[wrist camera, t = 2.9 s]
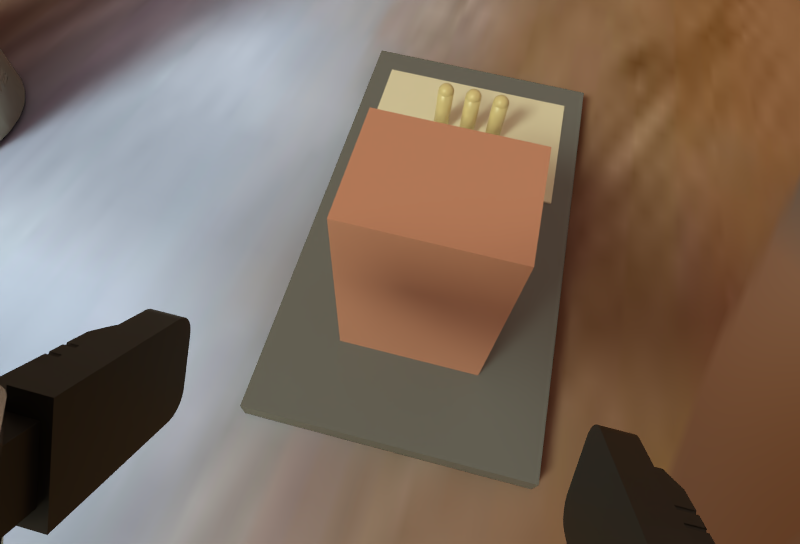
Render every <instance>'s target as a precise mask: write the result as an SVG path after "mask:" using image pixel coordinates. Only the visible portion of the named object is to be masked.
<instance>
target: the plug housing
mask: <svg viewBox="0 0 800 544" xmlns="http://www.w3.org/2000/svg"><path fill="white" fill-rule="evenodd" d="M550 154H551V147H549V146H544V145H540V144H535V143H531V142H526V141H521V140H517V139H512V138H508V137H503V136H499V135H494V134H489V133H485V132H480V131H476V130H471V129H467V128H462V127H457V126H453V125H448V124H444V123H439V122H435V121H430V120H425V119H421V118H416V117H412V116H407V115H403V114H398V113H393V112H389V111H384V110H380V109H375V108H369V111H368V113H367V116H366V118H365V121H364V124H363V126H362V129H361V131H360V134H359V137H358V139H357V142H356V144H355V147H354V150H353V152H352V155H351V157H350V160H349V162H348V165H347V168H346V170H345V173H344V175H343V178H342V181H341V183H340V186H339V188H338V191H337V194H336V196H335V199H334V201H333V204H332V207H331V209H330V212H329V214H328V217H327V224H328V233H329V243H330V252H331V261H332V271H333V280H334V289H335V298H336V308H337V317H338V326H339V335H340V341H343V342H347V343H351V344H355V345H359V346H363V347H367V348H371V349H375V350H379V351H383V352H387V353H391V354H395V355H399V356H403V357H407V358H411V359H415V360H419V361H423V362H427V363H431V364H434V365H438V366H442V367H446V368H450V369H454V370H458V371H462V372H466V373H470V374H474V375H479V373H480V371H481V369H482V367H483V365H484V363H485V361H486V359H487V357H488V355H489V353H490V351H491V350H492V348H493V346H494V344H495V342H496V340H497V338H498V336H499V334H500V332H501V330H502V328H503V326H504V324H505V322H506V320H507V319H508V317H509V315H510V313H511V311H512V309H513V307H514V305H515V303H516V301H517V299H518V297H519V295H520V293H521V291H522V289H523V288H524V286H525V284H526V282H527V280H528V278H529V276H530V274H531V272H532V270H533V268H534V264H535V257H536V250H537V243H538V236H539V229H540V223H541V216H542V209H543V202H544V195H545V188H546V182H547V175H548V168H549V161H550Z"/></svg>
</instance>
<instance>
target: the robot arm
mask: <svg viewBox="0 0 800 544" xmlns="http://www.w3.org/2000/svg"><path fill="white" fill-rule="evenodd" d="M24 104H25V89H24V86H23V83H22V80H21V79H20V77H19V76H18V74H17V73H16V71H15V70H14V68H13V67H12V65H11V64H10V62H9V61H8V59H7V58H6V56H5V55H4V53H3V52H2V50H1V49H0V141H1V140H2V139H3V138H4V137H5V136H6V135H7V134H8V133H9V132H10V131H11V129H12V128H13V126H14V125H15V123H16V122H17V120H18V119H19V117H20V115H21V112H22V110H23V107H24ZM189 339H190V323H189V320H188V319H187V318H184V317H180V316H176V315H173V314H169V313H165V312H161V311H157V310H153V309H147V310H145V311H143V312H141V313H139V314H137V315H136V316H134V317H132V318H130V319H128V320H126V321H124V322H123V323H121V324H119V325H114V326H110V327H105V328H101V329H97V330H93V331H89V332H86V333H84V334H82V335H81V336H79V337H77V338H75V339H73V340H71V341H69V342H67V344H66V345H61V346H59V347H57V348H55V349H53V350H51V351H49V354H43V355H41V356H40V357H38V358H36V359H34V360H32V361H30V362H28V363H26V364H24V365H22V366H20V367H18V368H16V369H14V370H12V371H10V372H8V373H6V374H4V375H2V376H0V544H3V536H4V535H5V534H7V533H8V532H9V531H10V530H11V529H12V528H14V527H15V526H19V527H23V528H26V529H30V530H33V531H36V532H40V533H43V534H46V535H48V534H49V533H50V532H51V531H52V530H53V529H54V528H55V527H56V526H57V525H58V524H59V523H60V522H62V521H63V520H64V519H65V518H66V517H67V516H68V515H69V514H70V513H71V512H72V511H73V510H74V509H75V508H76V507H78V506H79V505H80V504H81V503H82V502H83V501H84V500H85V499H86V498H87V497H88V496H89V495H90V494H91V493H93V492H94V491H95V490H96V489H97V488H98V487H99V486H100V485H101V484H102V483H103V482H104V481H105V480H106V479H108V478H109V477H110V476H111V475H112V474H113V473H114V472H115V471H116V470H117V469H118V468H119V467H120V466H121V465H123V464H124V463H125V462H126V461H127V460H128V459H129V458H130V457H131V456H132V455H133V454H134V453H135V452H136V451H137V450H139V449H140V448H141V447H142V446H143V445H144V444H145V443H146V442H147V441H148V440H149V439H150V438H151V437H152V436H154V435H155V434H156V433H157V432H158V431H159V430H160V429H161V428H162V427H163V426H164V425H165V424H166V423H167V422H168V421H169V420H170V419H171V418H172V417H173V415H174V414H175V412H176V410H177V408H178V406H179V404H180V401H181V398H182V395H183V390H184V382H185V373H186V365H187V356H188V348H189ZM563 525H564V532H565V537H566V542H567V544H715V543H714V541H713V539H712V537H711V536H710V534H709V533H706V530H707V529H706V527H705V525H704V523H703V522H702V520H701V518H700V516H699V515H696V509H695V508H694V506H693V504H692V503H691V501H690V499H689V497H688V496H687V494H686V492H685V491H684V489H683V488H682V487H681V486H680V485H679V484H678V483H677V482H676V481H674V480H673V479H672V478H671V477H670V476H669V475H668V474H667V473H666V472H665V471H664V470H663V469H661V468H657V467H654V466H653V464H652V462H651V460H650V458H649V456H648V454H647V452H646V450H645V448H644V446H643V445H642V443H641V441H640V439H639V437H638V436H637V435H635V434H631V433H627V432H623V431H619V430H615V429H612V428H608V427H604V426H600V425H594V426H593V427H592V428H591V429H590V431H589V433H588V435H587V438H586V441H585V444H584V447H583V450H582V453H581V456H580V458H579V461H578V464H577V467H576V470H575V473H574V476H573V479H572V482H571V485H570V488H569V490H568V493H567V497H566V501H565V507H564V516H563Z"/></svg>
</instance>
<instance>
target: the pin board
mask: <svg viewBox="0 0 800 544" xmlns="http://www.w3.org/2000/svg"><path fill="white" fill-rule="evenodd" d="M583 95H584V93H581V92H576V91H572V90H567V89H562V88H557V87H553V86H548V85H543V84H538V83H534V82H529V81H524V80H519V79H515V78H510V77H505V76H500V75H496V74H491V73H486V72H481V71H477V70H472V69H467V68H462V67H457V66H453V65H448V64H443V63H438V62H434V61H429V60H424V59H419V58H415V57H410V56H405V55H400V54H396V53H391V52H386V51H382V52H381V54H380V57H379V59H378V62H377V64H376V67H375V69H374V72H373V74H372V77H371V79H370V82H369V84H368V87H367V89H366V92H365V94H364V97H363V99H362V102H361V104H360V107H359V109H358V112H357V114H356V117H355V119H354V122H353V124H352V127H351V129H350V132H349V134H348V137H347V139H346V142H345V144H344V147H343V149H342V152H341V154H340V157H339V159H338V162H337V164H336V167H335V169H334V172H333V174H332V177H331V180H330V182H329V185H328V187H327V190H326V192H325V195H324V197H323V200H322V202H321V205H320V207H319V210H318V212H317V215H316V217H315V220H314V222H313V225H312V227H311V230H310V232H309V235H308V237H307V240H306V242H305V245H304V247H303V250H302V252H301V255H300V257H299V260H298V262H297V265H296V267H295V270H294V272H293V275H292V277H291V280H290V282H289V285H288V287H287V290H286V292H285V295H284V297H283V300H282V302H281V305H280V307H279V310H278V312H277V315H276V317H275V320H274V323H273V325H272V328H271V330H270V333H269V335H268V338H267V340H266V343H265V345H264V348H263V350H262V353H261V355H260V358H259V360H258V363H257V365H256V368H255V370H254V373H253V375H252V378H251V380H250V383H249V385H248V388H247V390H246V393H245V395H244V398H243V400H242V403H241V405H240V406H241V408H242V409H243V411H244V412H245V413H248V414H251V415H255V416H259V417H263V418H266V419H270V420H274V421H278V422H281V423H285V424H289V425H293V426H296V427H300V428H304V429H308V430H311V431H315V432H319V433H323V434H326V435H330V436H334V437H338V438H341V439H345V440H349V441H353V442H356V443H360V444H364V445H368V446H371V447H375V448H379V449H383V450H387V451H390V452H394V453H398V454H402V455H405V456H409V457H413V458H417V459H420V460H424V461H428V462H432V463H435V464H439V465H443V466H447V467H450V468H454V469H458V470H462V471H465V472H469V473H473V474H477V475H480V476H484V477H488V478H492V479H495V480H499V481H503V482H507V483H510V484H514V485H518V486H522V487H526V488H529V489H533V488H535V487H536V486H538V485H539V477H540V469H541V460H542V451H543V442H544V434H545V425H546V416H547V408H548V399H549V390H550V382H551V373H552V364H553V355H554V347H555V338H556V329H557V321H558V312H559V303H560V295H561V286H562V277H563V269H564V260H565V251H566V242H567V234H568V225H569V216H570V208H571V199H572V190H573V182H574V173H575V164H576V156H577V147H578V138H579V129H580V121H581V112H582V103H583ZM369 108H375V109H380V110H384V111H389V112H393V113H398V114H403V115H407V116H412V117H416V118H421V119H425V120H430V121H435V122H439V123H444V124H448V125H453V126H457V127H462V128H467V129H471V130H476V131H480V132H485V133H489V134H494V135H499V136H503V137H508V138H512V139H517V140H521V141H526V142H531V143H535V144H540V145H544V146H549V147H551V154H550V161H549V168H548V175H547V182H546V188H545V195H544V202H543V209H542V216H541V223H540V229H539V236H538V243H537V250H536V257H535V264H534V268H533V270H532V272H531V274H530V276H529V278H528V280H527V282H526V284H525V286H524V288H523V289H522V291H521V293H520V295H519V297H518V299H517V301H516V303H515V305H514V307H513V309H512V311H511V313H510V315H509V317H508V319H507V320H506V322H505V324H504V326H503V328H502V330H501V332H500V334H499V336H498V338H497V340H496V342H495V344H494V346H493V348H492V350H491V351H490V353H489V355H488V357H487V359H486V361H485V363H484V365H483V367H482V369H481V371H480V373H479V375H474V374H470V373H466V372H462V371H458V370H454V369H450V368H446V367H442V366H438V365H434V364H431V363H427V362H423V361H419V360H415V359H411V358H407V357H403V356H399V355H395V354H391V353H387V352H383V351H379V350H375V349H371V348H367V347H363V346H359V345H355V344H351V343H347V342H343V341H340V335H339V326H338V317H337V308H336V298H335V289H334V280H333V271H332V261H331V252H330V243H329V233H328V224H327V217H328V214H329V212H330V209H331V207H332V204H333V201H334V199H335V196H336V194H337V191H338V188H339V186H340V183H341V181H342V178H343V175H344V173H345V170H346V168H347V165H348V162H349V160H350V157H351V155H352V152H353V150H354V147H355V144H356V142H357V139H358V137H359V134H360V131H361V129H362V126H363V124H364V121H365V118H366V116H367V113H368V111H369Z"/></svg>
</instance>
